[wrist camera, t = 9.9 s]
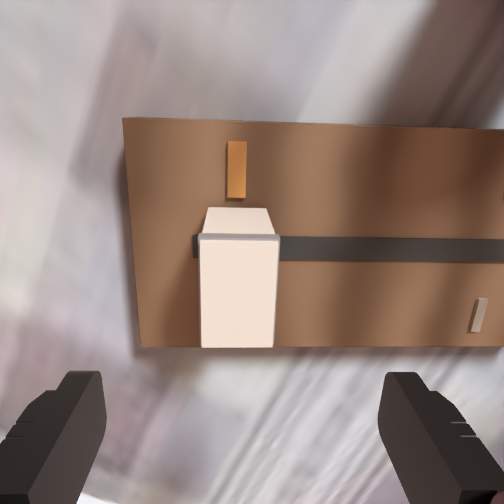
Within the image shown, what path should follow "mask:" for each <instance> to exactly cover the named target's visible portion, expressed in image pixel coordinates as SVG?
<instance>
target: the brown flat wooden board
mask: <svg viewBox="0 0 504 504" xmlns="http://www.w3.org/2000/svg"><path fill="white" fill-rule="evenodd" d="M122 123H123V135H124V147H125V159H126V172H127V184H128V196H129V208H130V220H131V232H132V244H133V257H134V269H135V281H136V293H137V305H138V317H139V330H140V342H141V347H202V346H200V326H199V273H198V235H199V233H202V231H203V227H204V223H205V219H206V215H207V211H208V207H227V208H266V209H267V212H268V215H269V218H270V220H271V223H272V226H273V229H274V232H275V234H279V236H280V253H279V270H278V286H277V302H276V319H275V335H274V345H273V347H463V346H504V129H478V128H447V127H417V126H387V125H356V124H326V123H296V122H265V121H235V120H205V119H174V118H144V117H130V118H122Z"/></svg>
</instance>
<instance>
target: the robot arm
mask: <svg viewBox="0 0 504 504" xmlns="http://www.w3.org/2000/svg"><path fill="white" fill-rule="evenodd" d="M106 419H107V416H106V407H105V400H104V392H103V385H102V377H101V374H100V372H99V371H69V372H68V373H67V374H66V376H65V377H64V379H63V380H62V382H61V383H60V385H59V386H58V388H57V389H56V390H46V391H45V392H44V393H43V394H41V395H40V396H39V397H37V398H36V399H35V400H34V401H32V402H31V403H30V404H29V405H28V406H27V407H26V409H25V410H24V411H23V413H22V414H21V416H20V417H19V418H18V420H17V421H16V425H13V427H12V428H11V430H10V431H9V432H8V434H7V435H6V439H5V440H3V441H2V442H1V444H0V504H76V503H77V501H78V498H79V496H80V493H81V491H82V488H83V486H84V484H85V481H86V479H87V476H88V474H89V472H90V469H91V467H92V464H93V462H94V459H95V457H96V455H97V452H98V450H99V447H100V445H101V442H102V440H103V437H104V433H105V429H106ZM378 428H379V433H380V436H381V439H382V441H383V443H384V446H385V448H386V450H387V453H388V455H389V457H390V459H391V462H392V464H393V466H394V468H395V471H396V473H397V475H398V478H399V480H400V482H401V484H402V487H403V489H404V491H405V493H406V496H407V498H408V500H409V503H410V504H504V471H503V470H502V469H501V467H500V466H499V465H498V463H497V462H496V461H495V459H494V458H493V457H492V455H491V454H490V453H489V451H488V450H487V448H486V447H485V446H484V444H483V443H482V442H481V440H480V439H479V438H477V437H476V434H475V432H474V431H473V430H472V428H471V427H470V425H469V424H466V420H465V419H464V417H463V416H462V415H461V413H460V412H459V411H458V409H457V408H456V407H455V405H454V404H453V403H451V402H450V401H449V400H447V399H446V398H445V397H444V396H442V395H441V394H440V393H439V392H437V391H429V389H428V388H427V386H426V385H425V384H424V382H423V381H422V379H421V378H420V376H419V375H418V374H417V373H415V372H388V373H387V374H386V376H385V380H384V385H383V390H382V396H381V401H380V406H379V412H378Z"/></svg>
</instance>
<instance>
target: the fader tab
mask: <svg viewBox="0 0 504 504" xmlns="http://www.w3.org/2000/svg"><path fill="white" fill-rule="evenodd" d="M279 253H280V236H279V234H275V232H274V229H273V226H272V223H271V220H270V218H269V215H268V212H267V209H266V208H227V207H208V211H207V215H206V219H205V223H204V227H203V231H202V233H199V235H198V273H199V326H200V346H202V348H249V347H273V345H274V335H275V319H276V302H277V286H278V270H279Z"/></svg>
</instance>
